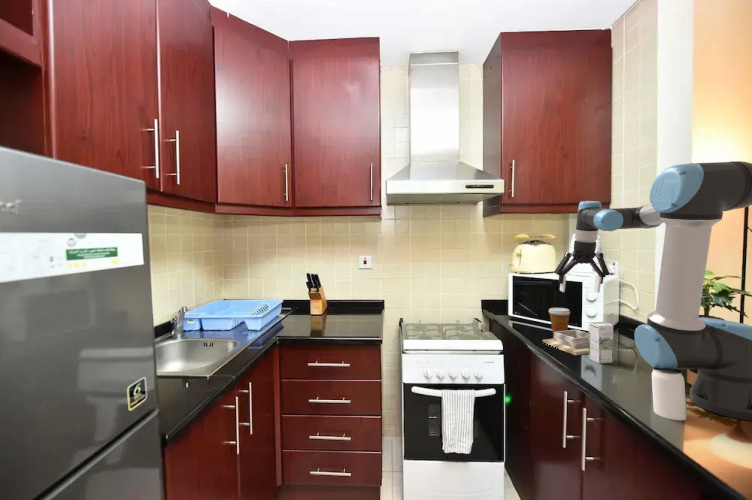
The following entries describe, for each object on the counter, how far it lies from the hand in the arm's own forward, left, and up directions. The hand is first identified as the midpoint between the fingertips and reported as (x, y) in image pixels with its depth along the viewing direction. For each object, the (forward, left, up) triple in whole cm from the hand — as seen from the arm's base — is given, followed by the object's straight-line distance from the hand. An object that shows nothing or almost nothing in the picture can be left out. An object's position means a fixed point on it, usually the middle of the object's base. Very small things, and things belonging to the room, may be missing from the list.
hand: (579, 291), depth 138 cm
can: (-39, -33, -26) cm, 57 cm away
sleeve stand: (+6, +4, -25) cm, 26 cm away
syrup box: (-7, -9, -25) cm, 28 cm away
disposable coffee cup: (+24, +17, -25) cm, 39 cm away
